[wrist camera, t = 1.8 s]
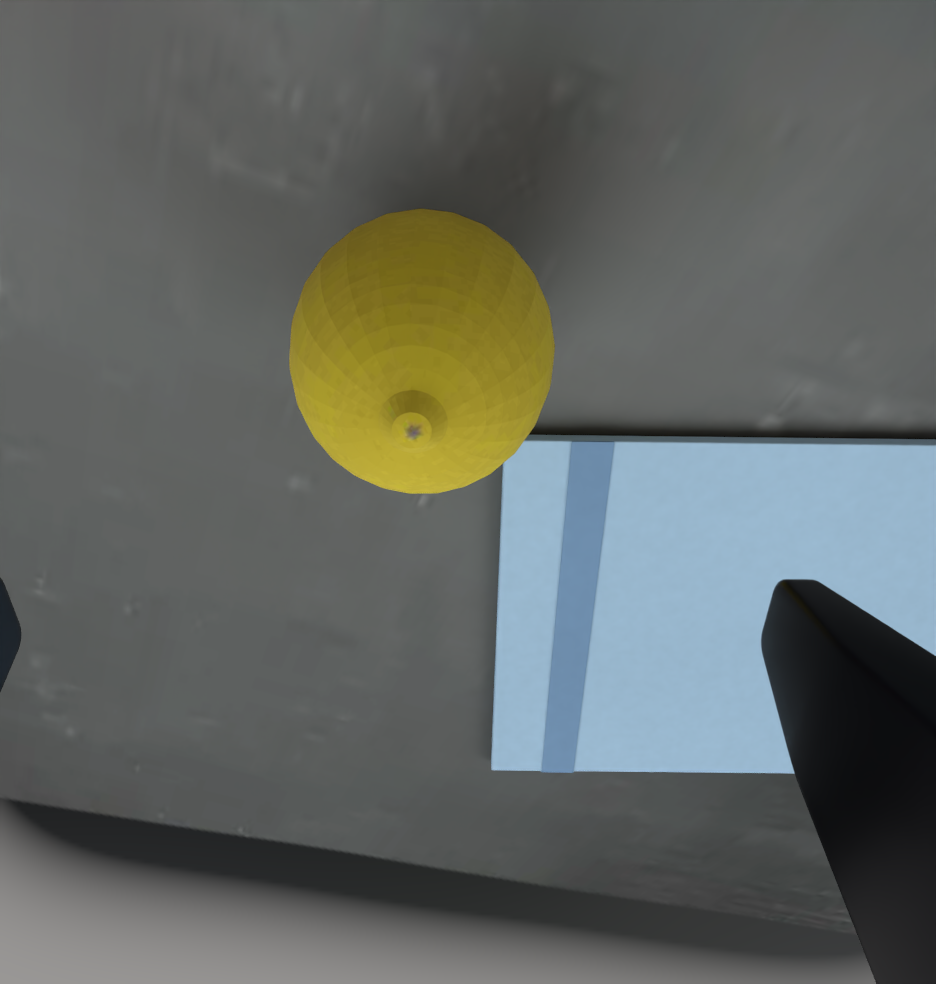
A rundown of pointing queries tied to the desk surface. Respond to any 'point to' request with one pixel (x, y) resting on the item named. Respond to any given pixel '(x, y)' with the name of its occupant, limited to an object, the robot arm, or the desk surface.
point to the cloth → (687, 588)
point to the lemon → (421, 351)
